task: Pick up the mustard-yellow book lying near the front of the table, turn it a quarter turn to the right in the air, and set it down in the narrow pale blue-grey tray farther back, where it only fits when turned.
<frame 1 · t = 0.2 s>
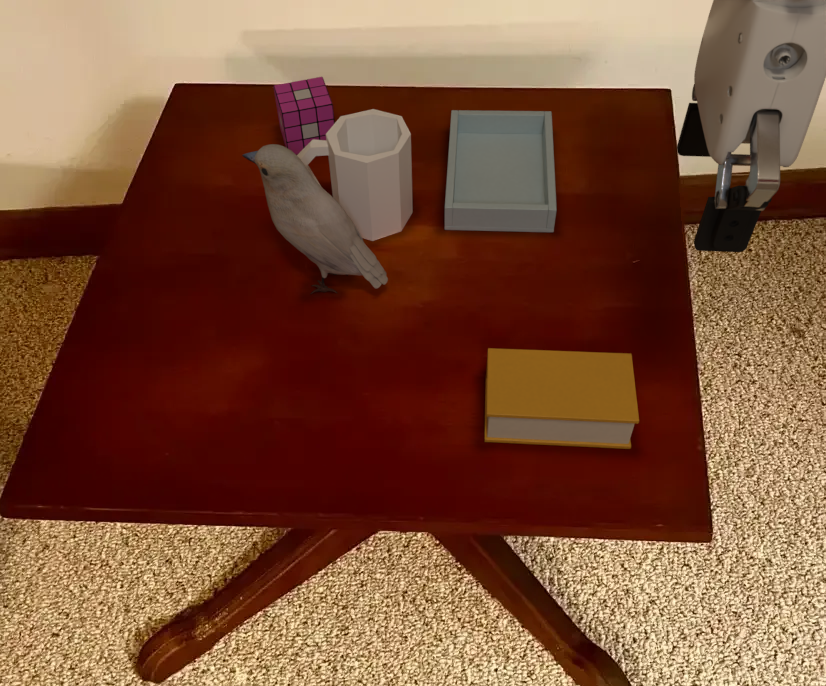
hand: (708, 198, 59), 21 cm above the table, tool pointing down, fingers open, 9 cm apart
mug: (356, 214, 92), on the table
book: (555, 411, 75), on the table
bird: (325, 281, 87), on the table
puzzle toy: (308, 138, 101), on the table
tray: (499, 179, 94), on the table
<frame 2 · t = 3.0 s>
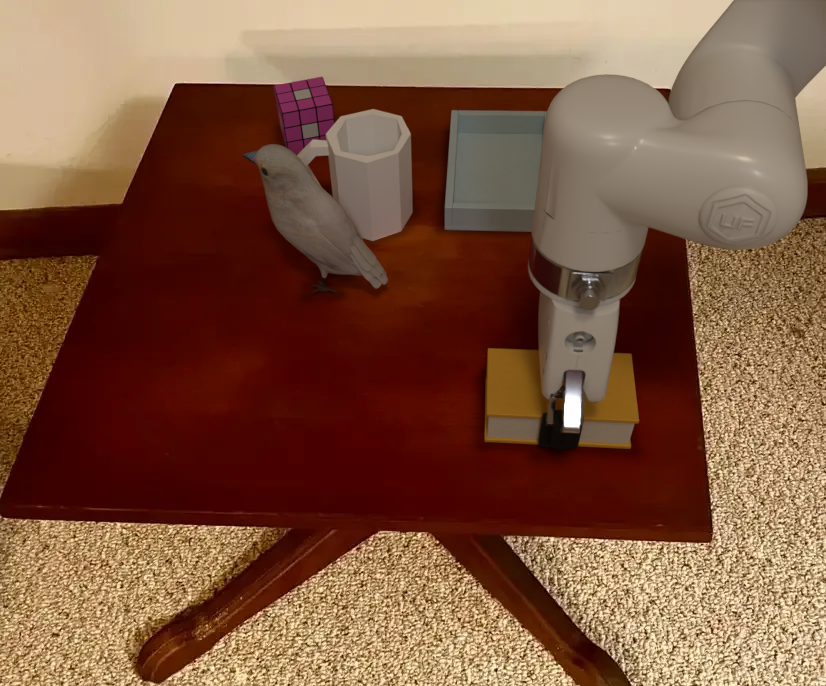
hand: (556, 405, 74), 1 cm above the table, tool pointing down, fingers closed on book, 7 cm apart
book: (555, 411, 75), on the table, touching gripper
everything else where it was.
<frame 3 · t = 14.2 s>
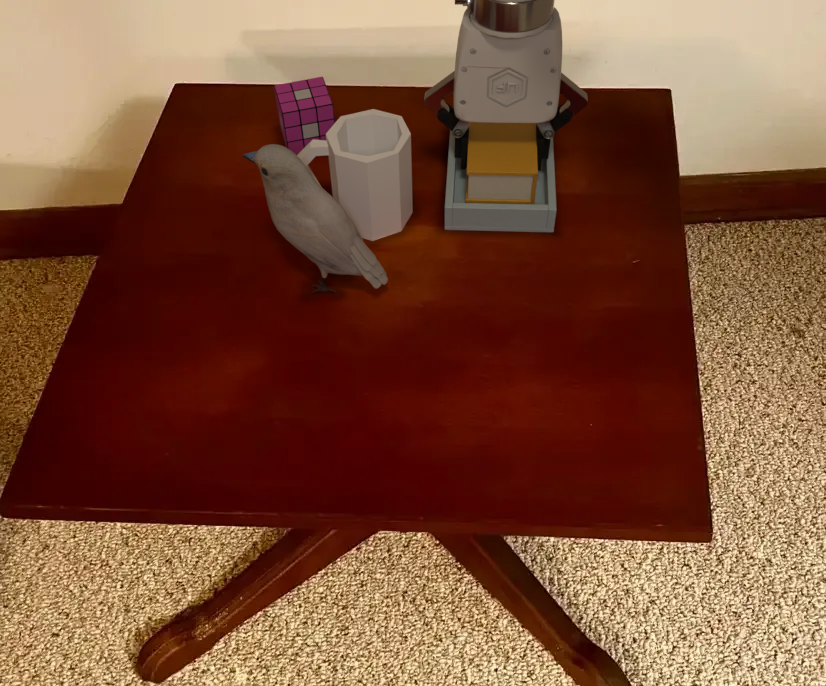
hand: (500, 161, 93), 2 cm above the table, tool pointing down, fingers closed on book, 7 cm apart
book: (500, 167, 93), point 2 cm above the table, touching gripper
everything else where it was.
when the fingers open (3 cm above the table, at t = 17.2 s): book drops 2 cm, resting on tray.
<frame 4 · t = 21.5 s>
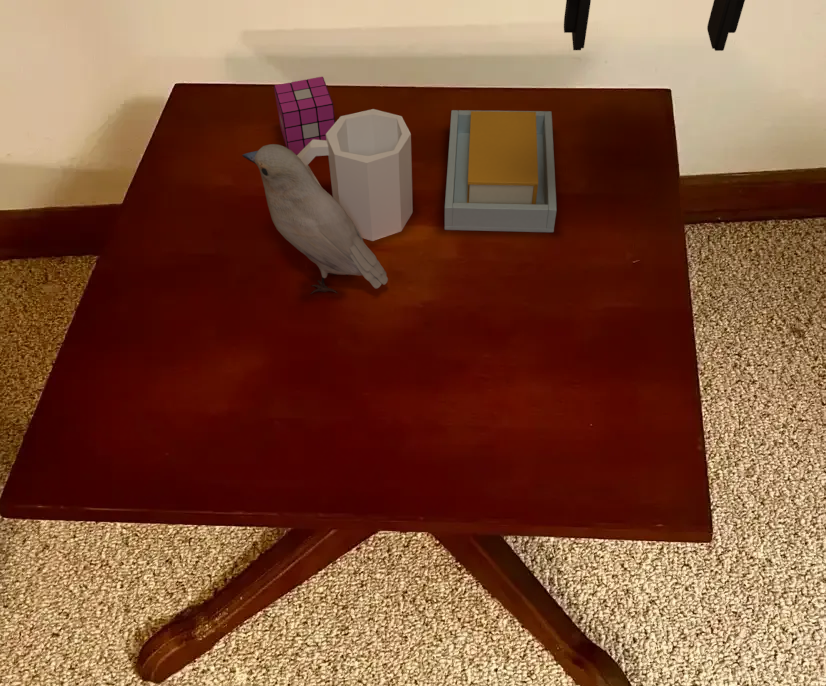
hand: (645, 40, 63), 26 cm above the table, tool pointing down, fingers open, 9 cm apart
book: (500, 176, 94), resting on tray
everything else where it was.
at the end: book 0.1 cm off-centre in the tray, point 0.5 cm above the tray's base; book tilted 0°; the gripper is holding nothing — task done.
